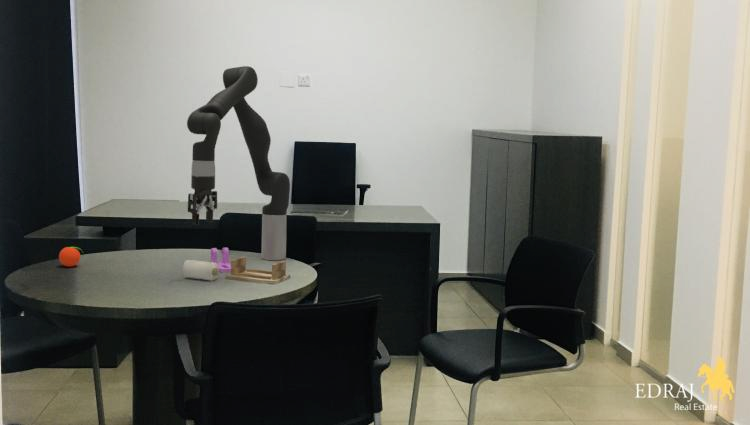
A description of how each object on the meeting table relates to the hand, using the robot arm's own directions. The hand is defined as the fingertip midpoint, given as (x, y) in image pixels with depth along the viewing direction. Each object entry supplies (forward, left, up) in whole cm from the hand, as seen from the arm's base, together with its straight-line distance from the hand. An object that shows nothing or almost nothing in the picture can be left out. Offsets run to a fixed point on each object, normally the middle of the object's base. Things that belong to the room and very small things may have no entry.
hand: (202, 223), depth 250 cm
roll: (0, -1, -19) cm, 19 cm away
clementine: (+4, -50, -19) cm, 53 cm away
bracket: (-18, -3, -19) cm, 26 cm away
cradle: (-10, +15, -18) cm, 26 cm away
